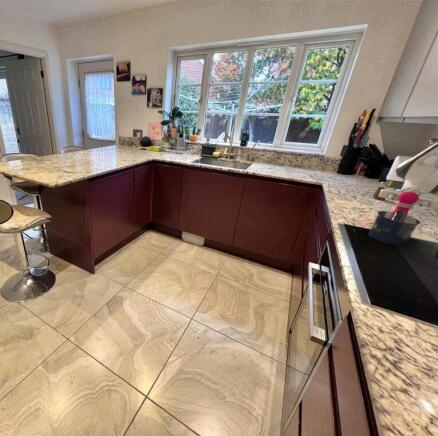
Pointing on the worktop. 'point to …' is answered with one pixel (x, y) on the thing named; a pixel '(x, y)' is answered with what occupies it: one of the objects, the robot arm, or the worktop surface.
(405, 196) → the pepper mill
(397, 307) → the worktop surface
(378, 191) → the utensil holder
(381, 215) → the pot lid
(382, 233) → the pot
